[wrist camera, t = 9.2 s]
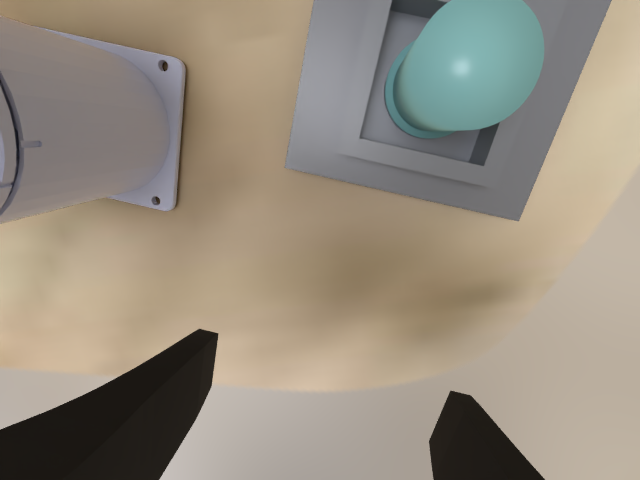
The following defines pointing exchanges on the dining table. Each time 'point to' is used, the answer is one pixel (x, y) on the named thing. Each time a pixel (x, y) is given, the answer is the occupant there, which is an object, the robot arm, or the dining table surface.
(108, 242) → the dining table surface
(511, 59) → the teal rounded piece
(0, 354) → the dining table surface
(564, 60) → the housing
